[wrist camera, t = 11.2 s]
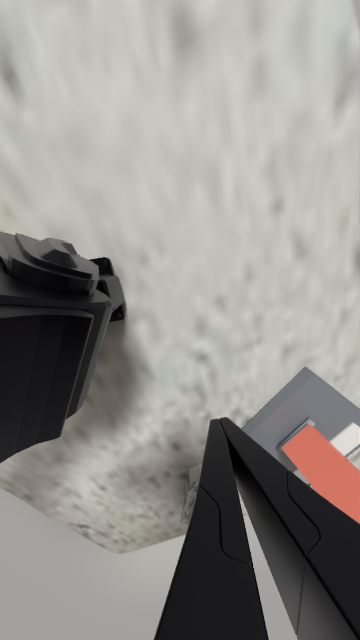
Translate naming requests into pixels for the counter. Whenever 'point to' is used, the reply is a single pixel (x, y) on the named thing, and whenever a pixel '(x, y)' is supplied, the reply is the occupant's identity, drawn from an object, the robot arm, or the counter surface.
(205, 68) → the counter surface
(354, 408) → the base
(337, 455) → the lever
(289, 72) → the counter surface
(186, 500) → the grey lumpy stone piece
